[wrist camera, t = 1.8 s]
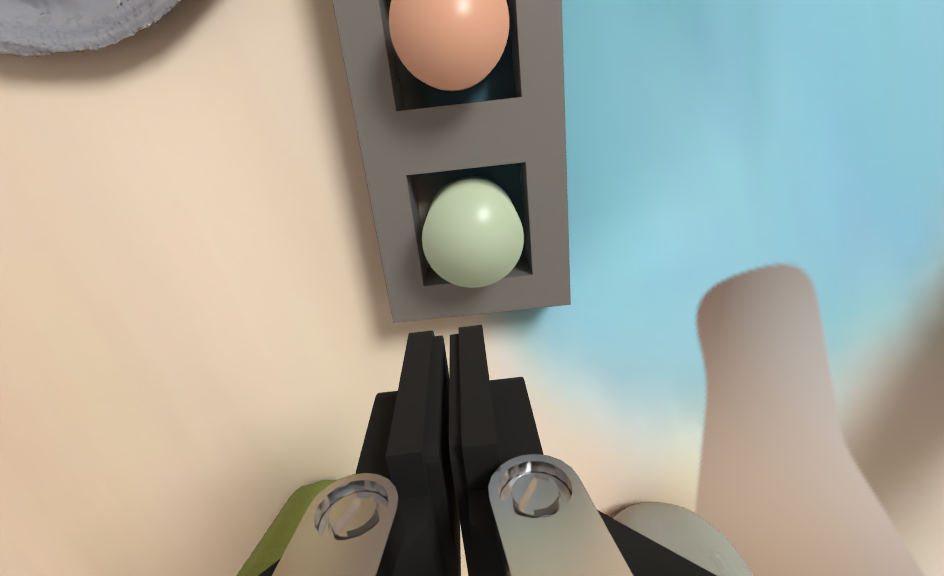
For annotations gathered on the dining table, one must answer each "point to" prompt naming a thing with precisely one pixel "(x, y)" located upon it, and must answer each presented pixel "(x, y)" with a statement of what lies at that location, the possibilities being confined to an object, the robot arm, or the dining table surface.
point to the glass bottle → (685, 536)
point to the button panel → (463, 160)
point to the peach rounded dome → (449, 39)
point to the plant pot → (282, 530)
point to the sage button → (472, 233)
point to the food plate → (73, 23)
